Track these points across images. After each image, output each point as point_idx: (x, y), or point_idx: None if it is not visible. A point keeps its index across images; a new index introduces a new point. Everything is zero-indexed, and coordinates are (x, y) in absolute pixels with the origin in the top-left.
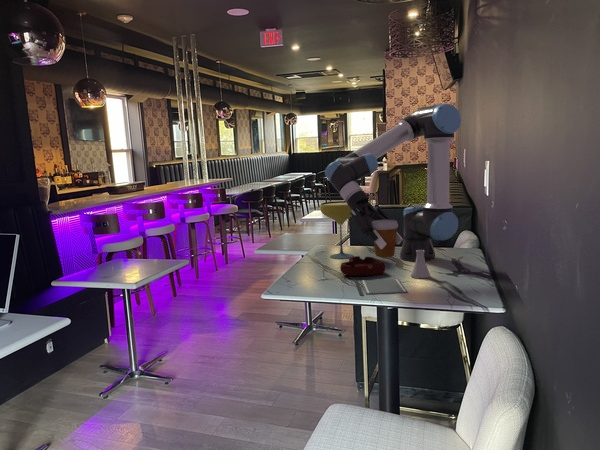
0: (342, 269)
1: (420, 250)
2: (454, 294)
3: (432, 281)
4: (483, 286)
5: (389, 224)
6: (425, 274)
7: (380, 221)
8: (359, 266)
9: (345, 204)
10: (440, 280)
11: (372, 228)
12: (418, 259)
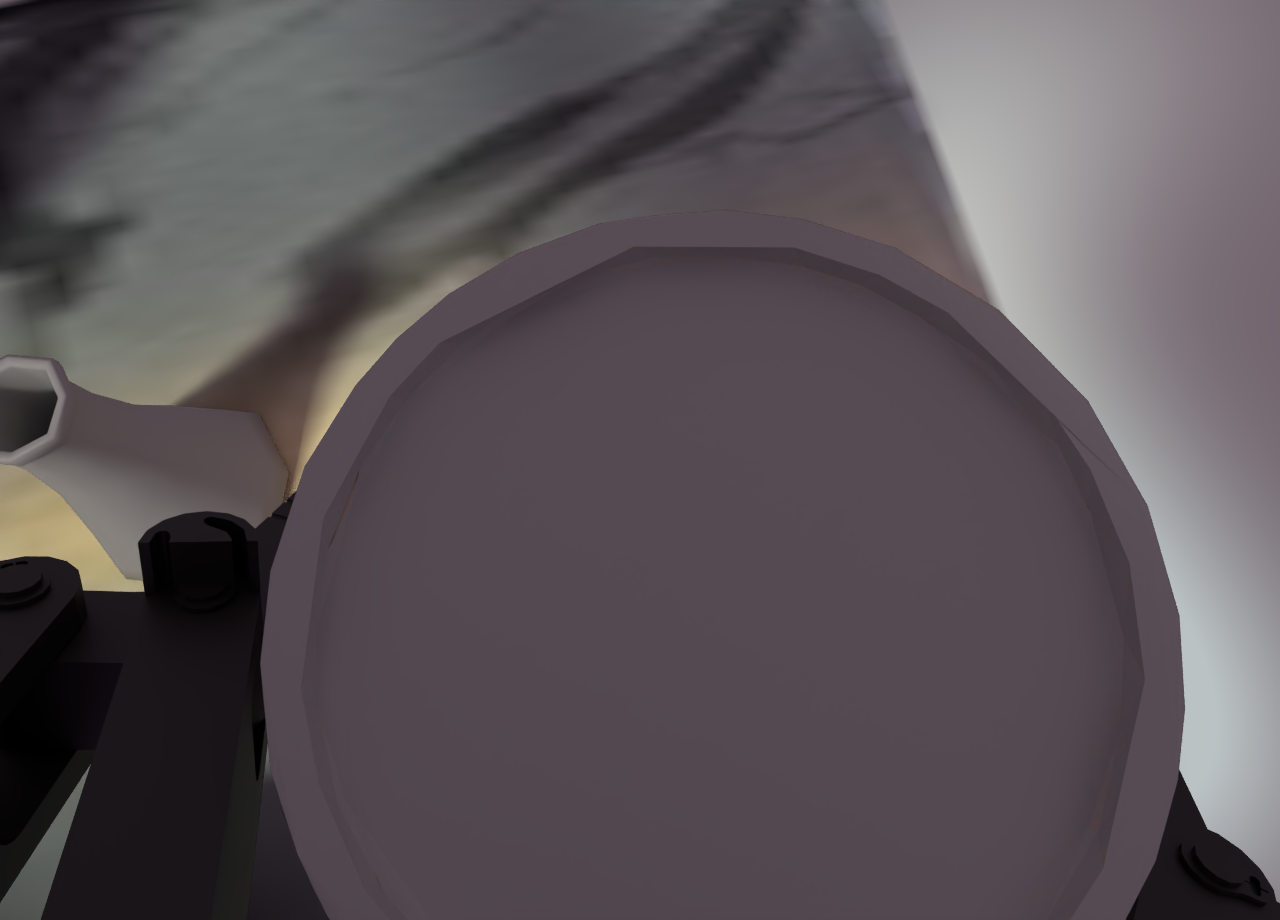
0: None
1: None
2: (652, 125)
3: (342, 352)
4: (373, 4)
5: (996, 330)
6: (239, 421)
7: (514, 857)
8: None
9: None
10: (290, 302)
11: (1164, 862)
12: (125, 450)
